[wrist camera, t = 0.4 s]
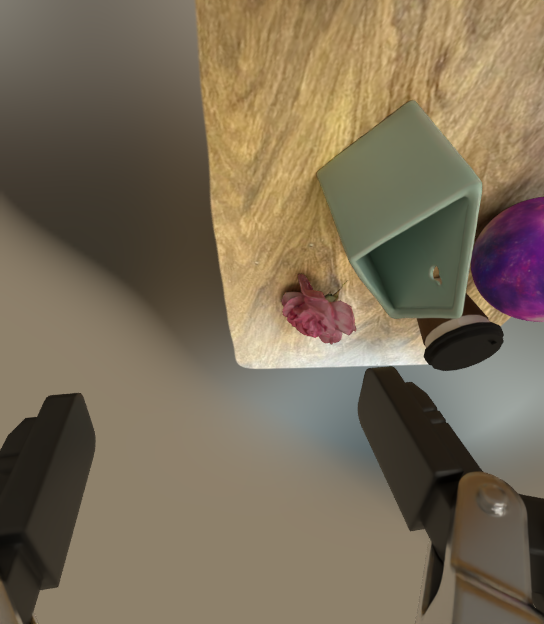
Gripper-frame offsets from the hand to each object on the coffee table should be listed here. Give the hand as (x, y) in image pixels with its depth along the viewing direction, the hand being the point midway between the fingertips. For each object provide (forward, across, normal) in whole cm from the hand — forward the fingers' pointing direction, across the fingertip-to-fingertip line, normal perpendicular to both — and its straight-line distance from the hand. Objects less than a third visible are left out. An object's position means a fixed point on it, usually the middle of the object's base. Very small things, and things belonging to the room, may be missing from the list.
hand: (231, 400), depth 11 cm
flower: (+40, -14, +20) cm, 46 cm away
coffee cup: (+40, -35, +20) cm, 57 cm away
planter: (+33, -16, +1) cm, 36 cm away
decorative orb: (+35, -40, +7) cm, 53 cm away
